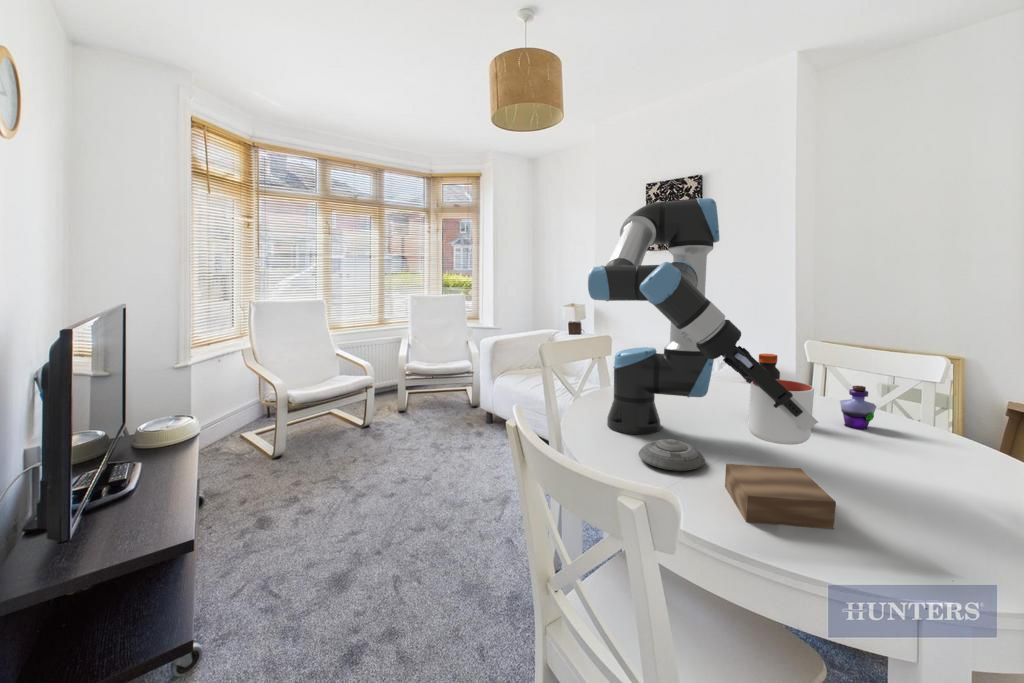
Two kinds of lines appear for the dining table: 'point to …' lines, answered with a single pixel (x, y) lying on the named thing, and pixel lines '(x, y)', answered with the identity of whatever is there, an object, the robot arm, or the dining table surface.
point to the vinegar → (770, 364)
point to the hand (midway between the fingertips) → (797, 417)
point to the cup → (778, 414)
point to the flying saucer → (671, 455)
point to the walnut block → (779, 496)
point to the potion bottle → (857, 409)
